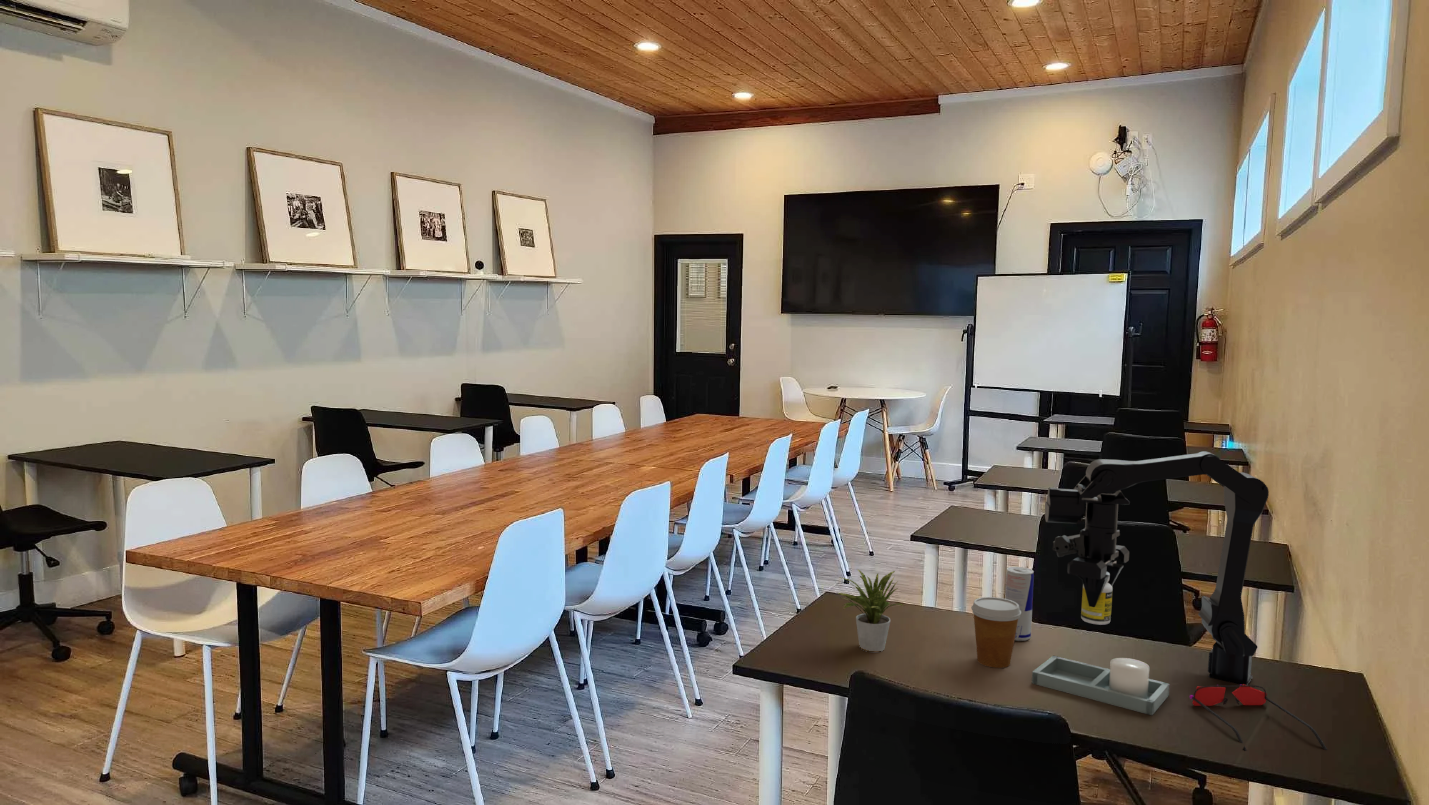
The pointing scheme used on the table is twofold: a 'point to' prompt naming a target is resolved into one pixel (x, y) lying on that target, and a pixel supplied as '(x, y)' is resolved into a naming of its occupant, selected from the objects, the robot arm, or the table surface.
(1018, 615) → the disposable coffee cup
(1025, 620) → the beverage can
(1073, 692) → the tray
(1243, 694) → the glasses
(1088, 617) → the supplement bottle
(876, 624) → the house plant
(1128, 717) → the table surface
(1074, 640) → the table surface
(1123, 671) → the white pillar candle
